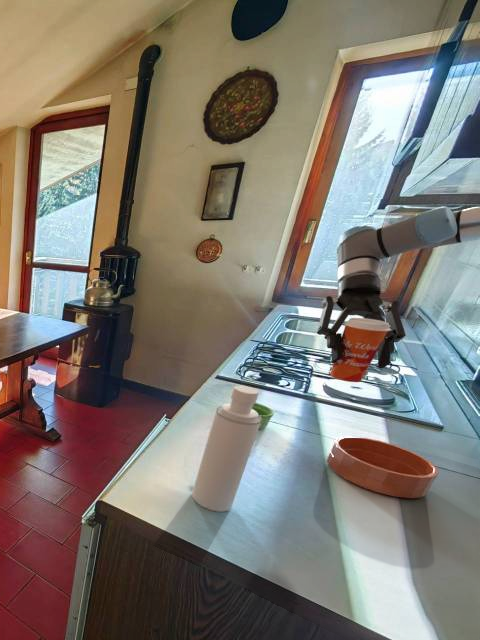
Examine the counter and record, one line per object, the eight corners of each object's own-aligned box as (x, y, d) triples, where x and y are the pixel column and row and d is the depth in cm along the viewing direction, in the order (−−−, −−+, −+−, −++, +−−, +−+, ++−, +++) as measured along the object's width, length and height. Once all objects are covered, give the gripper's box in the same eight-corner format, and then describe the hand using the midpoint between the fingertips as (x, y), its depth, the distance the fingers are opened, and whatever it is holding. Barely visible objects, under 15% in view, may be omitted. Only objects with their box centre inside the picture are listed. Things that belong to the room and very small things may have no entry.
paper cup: (322, 377, 94) (345, 320, 88) (325, 369, 99) (347, 315, 93) (367, 386, 89) (394, 327, 83) (367, 378, 94) (393, 321, 88)
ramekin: (261, 434, 99) (266, 419, 97) (223, 420, 106) (227, 405, 104) (274, 424, 104) (279, 409, 102) (237, 412, 111) (241, 398, 109)
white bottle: (235, 500, 75) (277, 381, 65) (225, 517, 71) (268, 392, 61) (197, 484, 79) (231, 370, 70) (186, 499, 75) (220, 380, 65)
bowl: (425, 479, 82) (438, 457, 80) (423, 511, 73) (438, 487, 71) (332, 449, 93) (341, 429, 91) (320, 474, 83) (329, 452, 81)
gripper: (403, 294, 96) (408, 377, 88) (300, 288, 103) (297, 363, 96) (425, 275, 89) (433, 362, 82) (313, 269, 97) (311, 348, 90)
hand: (359, 362), depth 89 cm, fingers closed on paper cup, 8 cm apart
